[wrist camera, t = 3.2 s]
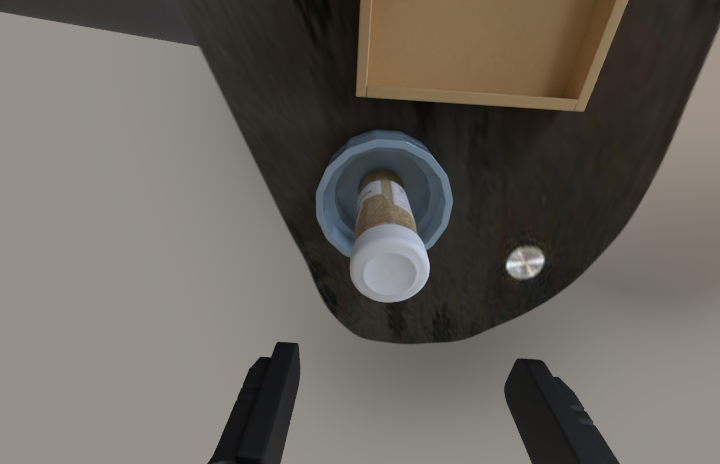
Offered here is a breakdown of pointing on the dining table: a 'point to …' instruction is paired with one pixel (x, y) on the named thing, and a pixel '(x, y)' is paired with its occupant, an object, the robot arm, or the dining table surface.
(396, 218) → the sprinkles bottle
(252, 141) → the dining table surface
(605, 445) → the robot arm
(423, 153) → the bowl
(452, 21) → the tray
